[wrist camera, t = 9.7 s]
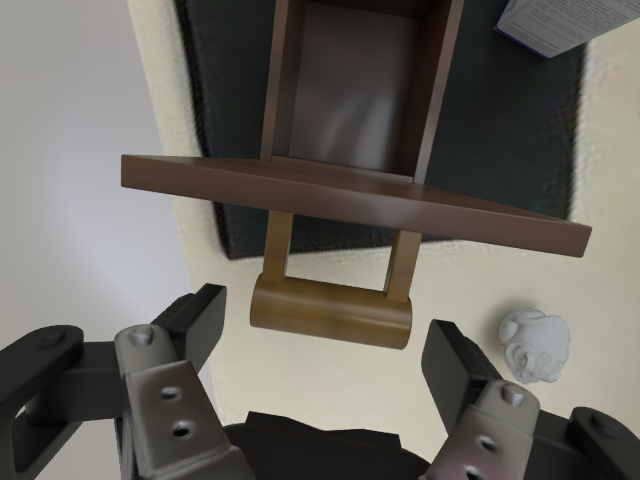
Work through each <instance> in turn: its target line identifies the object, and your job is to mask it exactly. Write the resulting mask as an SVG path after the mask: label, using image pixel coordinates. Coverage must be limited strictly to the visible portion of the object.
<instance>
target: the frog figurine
mask: <svg viewBox="0 0 640 480" xmlns="http://www.w3.org/2000/svg"><path fill="white" fill-rule="evenodd" d="M499 332H500V333H499V340H500V342H501V343H502V344H503V345H502V346H501V350H502V351H501V353H502V356H503V359H504V361H505V363H506V365H507V367H508V368H509V370H510V372H511V373H512V375H513V376H514V377H515V379H517V380H518V381H519V382H521V383H524V384H530V383H536V382H538V380H541V381H543V382H550V383H551V382H555V381H556V380H558V379H559V378H560V377H561V375H560V371H561V370H562V367H563V365H564V363H565V362H566V360H567V358H568V355H569V342H570V332H569V328H568V326H567V324H566V323H565V321H564V320H563V319H562V318H561V317H560V316H554V315H552V316H546V315H545V314H544V313H542V312H541V311H538V310H535V309H531V308H527V309H518V310H515V311H512V312H510V313H509V314H508V315H506V316H505V318H504V319H503V320H502V322H501V325H500V329H499Z"/></svg>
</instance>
